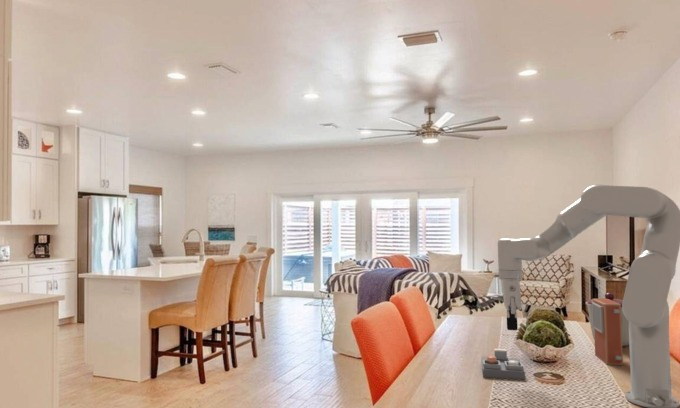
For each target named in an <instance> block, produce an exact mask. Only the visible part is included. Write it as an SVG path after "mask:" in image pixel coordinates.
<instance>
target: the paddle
mask: <svg viewBox="0 0 680 408" xmlns="http://www.w3.org/2000/svg"><path fill="white" fill-rule="evenodd" d="M493 349H494V356H495V357H496V359H501V360H507V356H508V354H507V351H508V350H507V348H493Z"/></svg>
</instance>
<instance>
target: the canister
mask: <svg viewBox="0 0 680 408" xmlns="http://www.w3.org/2000/svg"><path fill="white" fill-rule="evenodd" d="M593 299H594V298H592V299H589V300H588V301H585V305H586V306H587V311H588V316H589V317H588V318H589V324H590V330H591V335H592V339H593V340H594V341H595V337H594V328H593V315H592V303H593ZM596 299H609V300H611V301H614V302H616V303H618V304H620V306H621V318H622V325H621V329H622V347H625V346H628V345H629V321H628V320H627V319H626V317H625V316H624V314H623V310H622V303H623V299H619V298H615V294H614V293H613V292H606V293H605V294H604V298H603V297H602V298H601V297H599V298H596Z"/></svg>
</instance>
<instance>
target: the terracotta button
mask: <svg viewBox="0 0 680 408" xmlns="http://www.w3.org/2000/svg"><path fill="white" fill-rule="evenodd" d="M486 357H487V362H489V363H496V362H497V360H496V357H495V355H494V356H492V355H487V356H486Z"/></svg>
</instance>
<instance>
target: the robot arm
mask: <svg viewBox="0 0 680 408" xmlns="http://www.w3.org/2000/svg"><path fill="white" fill-rule="evenodd" d="M606 216H616V217H617V216H618V217H626V218H627V217H629V218H630V217H631V218H639V219H640V218H641V219H645V222H646V229H645V232H644V236H643V241H642V245H641V250H640V253H639V254H638V256H637V257H636V258H635V259H634V260H633V261H632V263H631V265H630V268H629V272H628V277H627V280H626V285H625V290H624V294H623V298H622V300H623V303H622V310H623V314H624V316H625V317H626V319H627V320H628V321H629V344H628V345H629V349H628V350H629V365H630V367H629V370H630V389H629V390H626V391H625V394H624V395H625V399H626V400H627V401H629V402H630V403H632V404H635V405H638V406H640V407H645V408H679V407H680V402H679V400H678V399H677V398H676V397H675V396H672V394H673V393H672V380H671V379H672V378H671V377H672V375H671V353H670V352H671V351H670V344H671V343H670V309H669V308H670V307H669V303H668V297H669V296H668V295H669V292H670V286H671V283H672V280H674V277H675V275H676V268H677V266H676V265H677V261H678V257H679V251H680V208H679V206H678V205H677V204H676V202H674V200H672V198H670V197H669V196H667V195H666V194H665V193H663V192H661V191H659V190H657V189H655V188H651V187H647V186H630V185H609V184H608V185H607V184H592V185H590V186H588V187H587V188H585V189H584V190H583V191H582V193H581V195H580V198H579V199H577V200H576V201H575V202H574V201H573V203H571V204H570V205H569V206H568V207H566V208H564V209H563V210H562V211H561V212H559V213H558V215H557V216H556V219H555V221H554V222H553V223H552V224H551V225H550V226H548V227H547V228H546V229H545V230H544V231H542V232H541V233H540V234H538V235H536V236H535V237H533V236H532V237H526V238H512V237H510V238H509V237H505V238H500V239H498V241H497V263H498V265H497V268H498V280H502V295H503V296H502V297H503V303H504V304H503V306H504V307H505V309H506V329H507V331H518V316H517V315H518V314H517V310H519V311H521V310H522V309H523V308H522V299H521V297H522V296H521V284H520V281H522V280H523V261H525V262H534V261H540V260H543V259H546V258H547V257H549V256H551V255H552V254H554V253H556V251H558V250H560V249H561V248H562V247H564V246H566V244H568V243H569V242H570V241H573V240H574V239H575V238H576V237H577V236H579V235H580V234H581V233H583V232H584V231H586V230H588V228H589V227H591V226H592V225H595V224H596V223H597V222H598V221H600V220H602V219H604V218H605V217H606Z"/></svg>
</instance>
